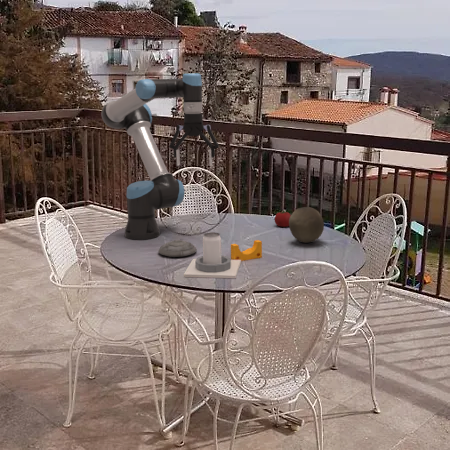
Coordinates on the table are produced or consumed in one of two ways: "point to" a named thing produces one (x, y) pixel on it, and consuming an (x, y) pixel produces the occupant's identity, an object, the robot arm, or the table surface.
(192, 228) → the table surface
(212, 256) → the can
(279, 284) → the table surface
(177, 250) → the grey stepped dome
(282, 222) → the tomato
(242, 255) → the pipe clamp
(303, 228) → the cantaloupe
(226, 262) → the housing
